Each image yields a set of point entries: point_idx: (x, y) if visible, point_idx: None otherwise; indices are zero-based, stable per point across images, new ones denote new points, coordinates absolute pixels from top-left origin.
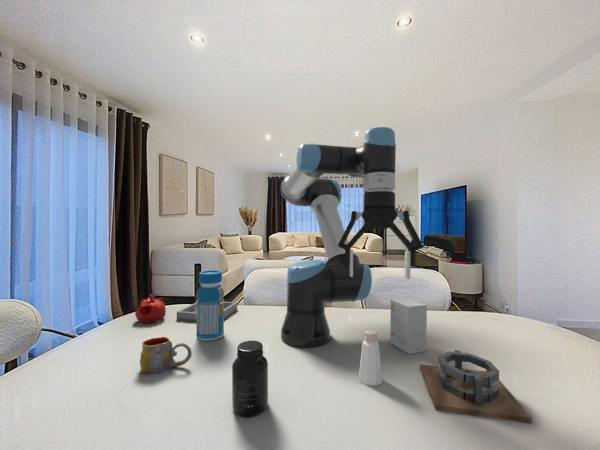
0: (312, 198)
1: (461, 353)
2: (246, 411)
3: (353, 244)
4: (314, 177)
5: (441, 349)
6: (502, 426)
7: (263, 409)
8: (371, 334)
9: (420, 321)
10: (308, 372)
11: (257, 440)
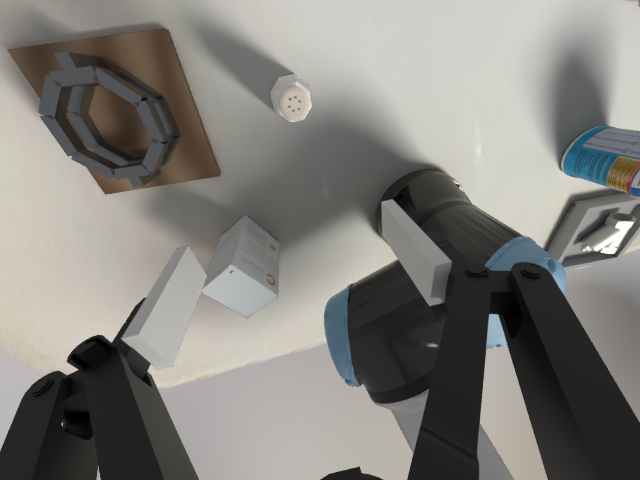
0: None
1: (127, 173)
2: None
3: (454, 295)
4: None
5: (200, 251)
6: (55, 17)
7: None
8: (290, 86)
9: (217, 259)
10: (397, 81)
11: None
